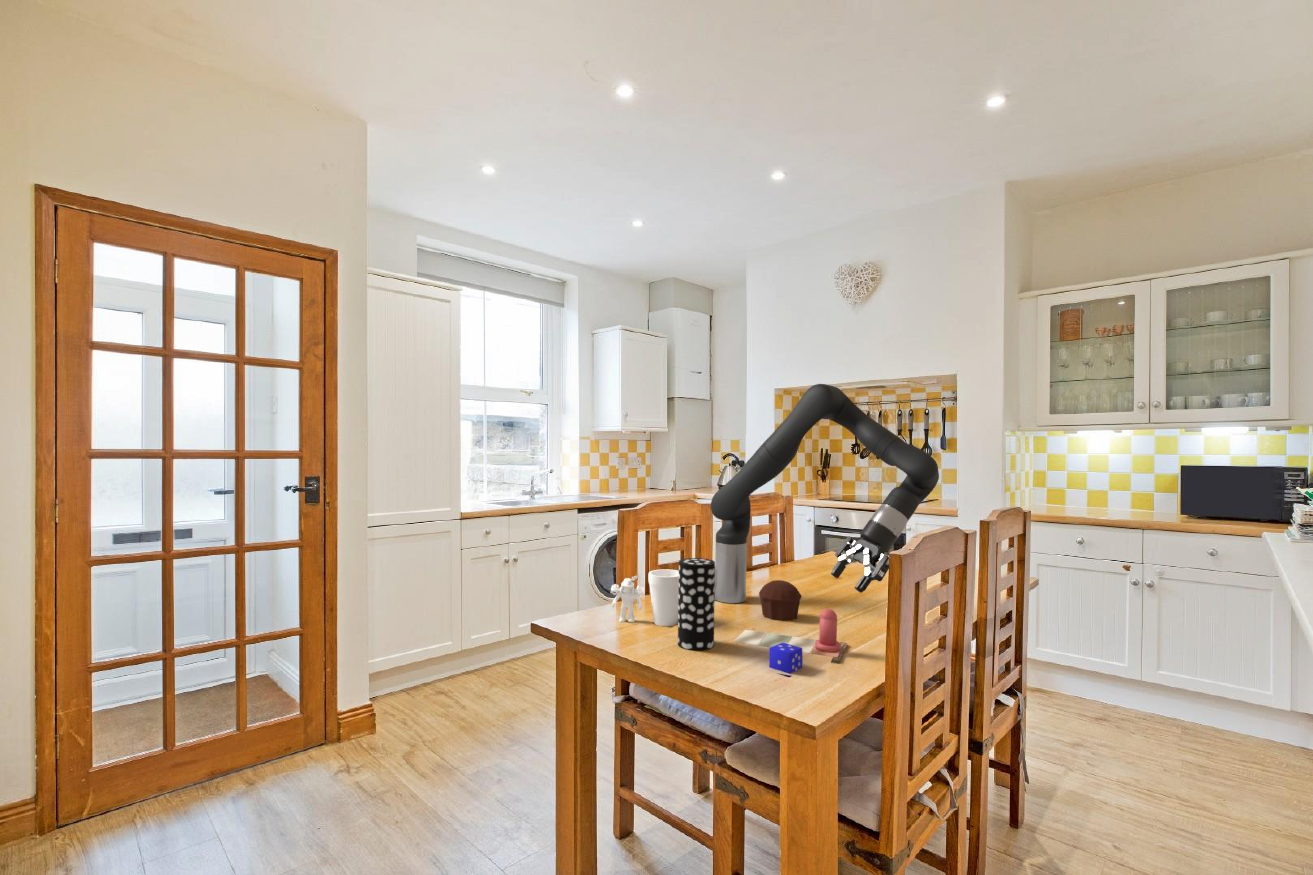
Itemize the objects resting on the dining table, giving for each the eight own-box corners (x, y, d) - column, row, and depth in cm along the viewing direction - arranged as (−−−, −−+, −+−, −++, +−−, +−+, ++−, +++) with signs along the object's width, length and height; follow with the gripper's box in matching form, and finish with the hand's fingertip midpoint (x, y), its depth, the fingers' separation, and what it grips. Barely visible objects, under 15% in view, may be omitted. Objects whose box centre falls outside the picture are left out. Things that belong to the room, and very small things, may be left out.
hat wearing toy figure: (644, 619, 168) (645, 574, 168) (642, 623, 164) (642, 577, 164) (611, 617, 170) (612, 572, 169) (608, 621, 166) (608, 575, 166)
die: (768, 671, 132) (769, 647, 132) (782, 665, 136) (782, 642, 136) (789, 677, 129) (789, 653, 129) (802, 671, 132) (802, 647, 132)
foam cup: (642, 625, 163) (643, 575, 163) (655, 615, 171) (656, 568, 171) (677, 629, 159) (677, 578, 159) (688, 620, 168) (689, 571, 168)
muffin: (751, 614, 174) (752, 577, 174) (787, 611, 177) (788, 575, 177) (771, 626, 163) (771, 588, 163) (809, 623, 166) (809, 585, 166)
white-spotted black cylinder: (717, 653, 143) (719, 564, 142) (681, 655, 141) (682, 565, 141) (708, 641, 151) (709, 557, 151) (674, 642, 149) (675, 558, 149)
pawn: (812, 649, 143) (813, 610, 143) (817, 642, 148) (818, 604, 148) (838, 654, 141) (839, 613, 141) (842, 646, 146) (843, 607, 146)
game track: (728, 646, 147) (728, 642, 147) (744, 630, 159) (744, 627, 159) (839, 663, 137) (839, 659, 137) (847, 645, 149) (847, 642, 149)
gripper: (855, 510, 155) (817, 564, 154) (897, 528, 143) (856, 587, 141) (872, 526, 159) (835, 579, 157) (915, 545, 146) (875, 603, 144)
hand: (845, 583), depth 149 cm, fingers open, 8 cm apart
